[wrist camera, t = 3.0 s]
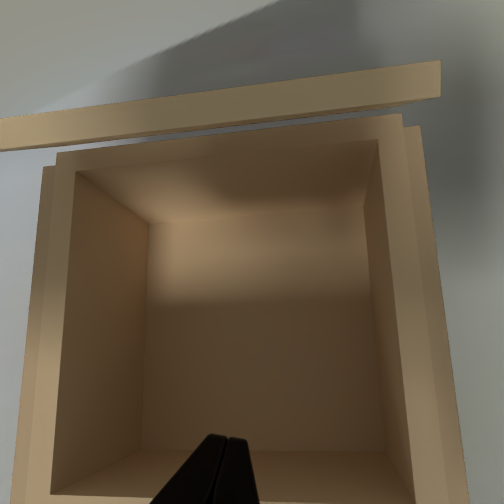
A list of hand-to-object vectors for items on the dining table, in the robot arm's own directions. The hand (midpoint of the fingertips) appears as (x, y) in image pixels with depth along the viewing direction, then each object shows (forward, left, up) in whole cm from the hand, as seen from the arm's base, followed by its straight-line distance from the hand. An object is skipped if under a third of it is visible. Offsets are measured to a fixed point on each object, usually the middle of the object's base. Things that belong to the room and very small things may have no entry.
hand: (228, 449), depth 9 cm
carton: (+1, +3, -10) cm, 11 cm away
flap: (+3, +7, 0) cm, 8 cm away
